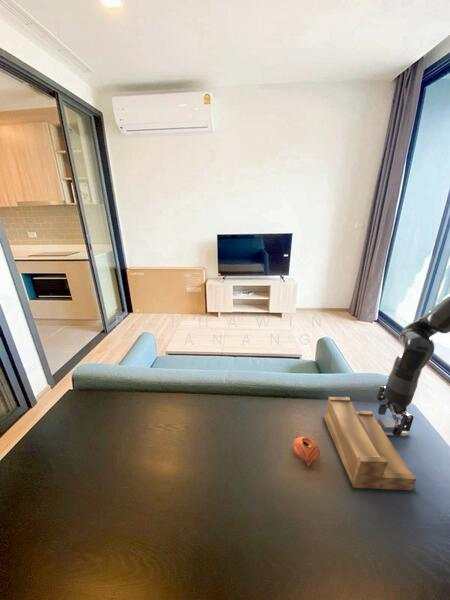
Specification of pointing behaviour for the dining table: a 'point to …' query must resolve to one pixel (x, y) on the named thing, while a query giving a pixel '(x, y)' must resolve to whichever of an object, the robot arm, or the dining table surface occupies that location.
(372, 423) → the stepped wooden ledge
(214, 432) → the dining table surface
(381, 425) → the block chair shape
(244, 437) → the dining table surface
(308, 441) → the pot
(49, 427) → the dining table surface
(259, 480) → the dining table surface
